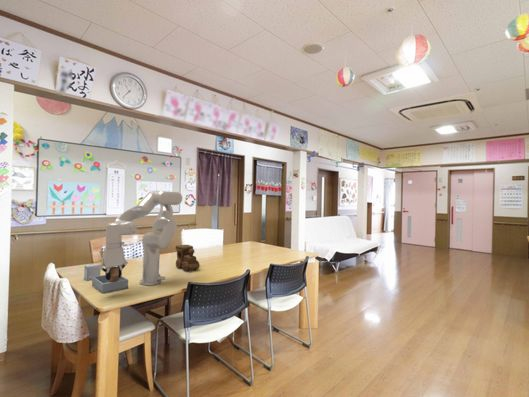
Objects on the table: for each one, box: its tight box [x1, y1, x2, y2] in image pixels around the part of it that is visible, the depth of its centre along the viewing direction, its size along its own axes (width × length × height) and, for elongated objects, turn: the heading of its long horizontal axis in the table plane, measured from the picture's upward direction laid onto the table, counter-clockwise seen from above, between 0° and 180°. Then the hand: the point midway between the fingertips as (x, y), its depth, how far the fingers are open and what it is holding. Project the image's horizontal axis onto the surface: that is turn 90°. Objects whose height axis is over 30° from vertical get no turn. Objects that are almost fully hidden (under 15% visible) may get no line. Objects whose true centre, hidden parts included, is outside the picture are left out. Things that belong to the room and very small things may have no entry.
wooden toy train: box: [175, 244, 200, 272], centre depth 209 cm, size 20×11×17 cm, turn 46°
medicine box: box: [83, 263, 101, 281], centre depth 176 cm, size 8×4×9 cm, turn 141°
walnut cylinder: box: [108, 266, 119, 282], centre depth 151 cm, size 5×5×7 cm
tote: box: [91, 274, 129, 294], centre depth 163 cm, size 18×14×5 cm
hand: (113, 278), depth 151 cm, fingers closed on walnut cylinder, 5 cm apart
